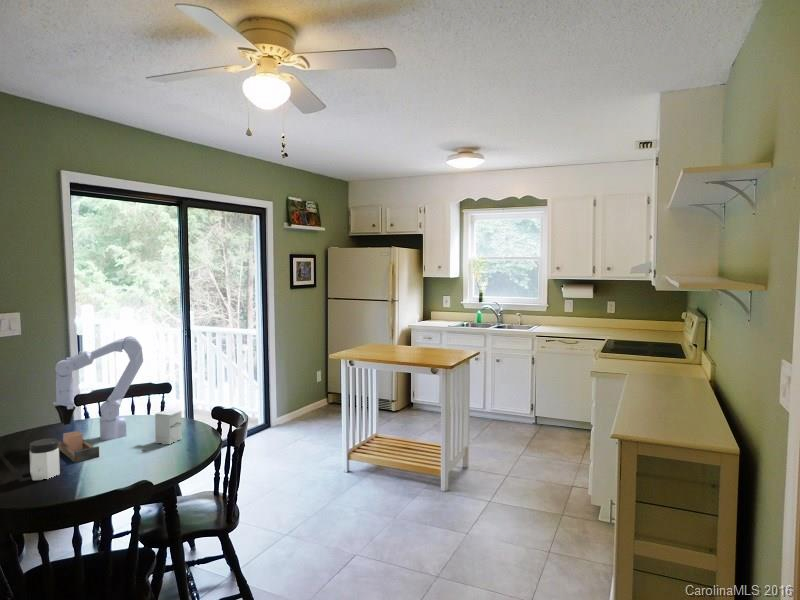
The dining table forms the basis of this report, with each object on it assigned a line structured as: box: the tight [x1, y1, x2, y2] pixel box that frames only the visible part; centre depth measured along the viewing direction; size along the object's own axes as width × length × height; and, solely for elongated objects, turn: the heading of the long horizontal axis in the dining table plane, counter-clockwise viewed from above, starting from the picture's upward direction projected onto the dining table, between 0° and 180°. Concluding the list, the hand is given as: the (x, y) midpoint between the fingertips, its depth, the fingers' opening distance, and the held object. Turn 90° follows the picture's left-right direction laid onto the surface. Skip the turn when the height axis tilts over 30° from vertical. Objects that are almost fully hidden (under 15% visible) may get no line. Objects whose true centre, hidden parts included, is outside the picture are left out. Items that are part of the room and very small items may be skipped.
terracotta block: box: [62, 430, 84, 451], centre depth 203 cm, size 5×6×6 cm
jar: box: [29, 437, 61, 481], centre depth 179 cm, size 9×8×12 cm
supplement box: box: [154, 409, 183, 445], centre depth 215 cm, size 7×7×13 cm
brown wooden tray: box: [58, 438, 102, 466], centre depth 199 cm, size 12×22×5 cm, turn 48°
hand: (65, 423), depth 208 cm, fingers open, 3 cm apart
